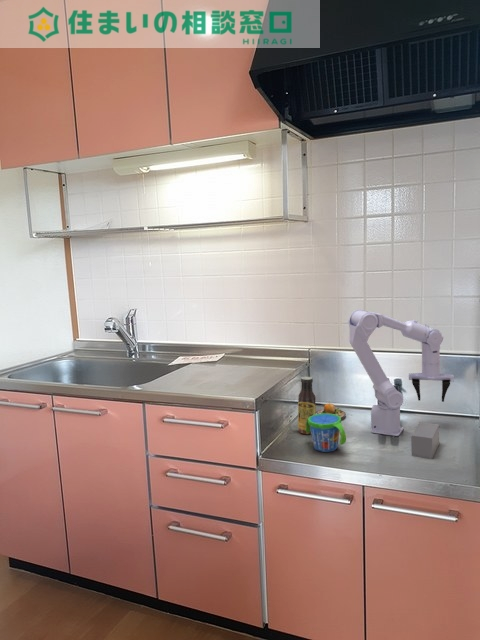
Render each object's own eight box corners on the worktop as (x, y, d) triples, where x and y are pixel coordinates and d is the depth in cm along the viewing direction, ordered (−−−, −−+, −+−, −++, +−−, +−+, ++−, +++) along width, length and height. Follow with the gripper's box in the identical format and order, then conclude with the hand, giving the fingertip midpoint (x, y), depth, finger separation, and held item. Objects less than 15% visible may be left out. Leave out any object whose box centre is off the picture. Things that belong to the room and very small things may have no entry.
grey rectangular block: (411, 455, 152) (411, 435, 151) (419, 440, 162) (419, 422, 161) (432, 458, 148) (432, 438, 148) (439, 443, 159) (439, 424, 158)
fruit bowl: (350, 415, 191) (349, 396, 190) (340, 425, 181) (339, 405, 180) (320, 411, 197) (320, 393, 196) (309, 421, 187) (308, 402, 186)
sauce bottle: (296, 434, 174) (293, 379, 171) (301, 428, 180) (298, 375, 177) (314, 435, 172) (312, 380, 169) (318, 429, 177) (316, 375, 175)
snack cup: (297, 445, 165) (296, 416, 163) (321, 437, 170) (320, 408, 169) (329, 460, 152) (328, 429, 150) (354, 451, 157) (353, 420, 155)
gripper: (408, 364, 170) (408, 402, 172) (454, 365, 164) (454, 405, 166) (408, 359, 176) (409, 396, 178) (453, 360, 171) (453, 398, 173)
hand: (430, 400), depth 173 cm, fingers open, 7 cm apart
